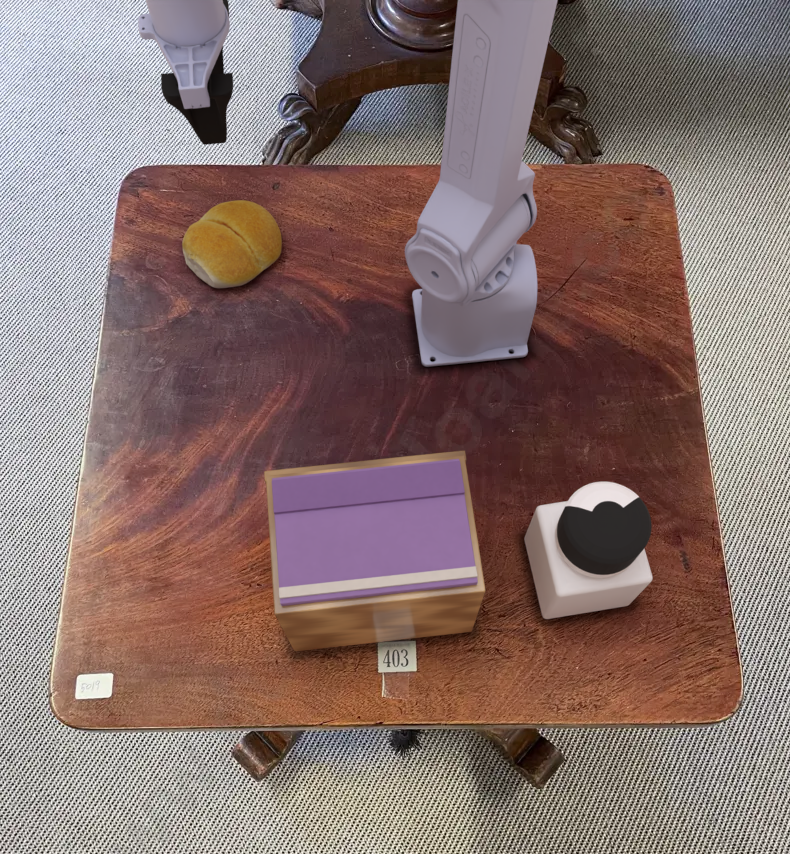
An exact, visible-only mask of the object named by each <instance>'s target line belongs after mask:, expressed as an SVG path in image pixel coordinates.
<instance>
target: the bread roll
mask: <svg viewBox="0 0 790 854" xmlns="http://www.w3.org/2000/svg"><path fill="white" fill-rule="evenodd" d="M282 245H283V240H282V234H281V230H280V227H279V225H278V223H277V221H276V219H275V217H273V215H272V214H271V213H270V212H269V211H268V210H267V209H266V208H265V207H264V206H262V205H260V204H258V203H256V202H254V201H249V200H245V199H240V200H239V199H238V200H228V201H225V202H220V203H218V204H215V206H212V207H211V208H210V209H209V210H208V211H206V213H205V214H203V216H202V217H201V218H200V219H199V220H198V221H196V222H194V223H192V224H190V225H189V227H187V230H186V231H185V233H184V235H183V238H182V242H181V247H182V253H183V258H184V261H185V264H186V266H188V268H189V269H190V270H191V272H193V273H194V274H195V275H196V277H198V278H199V279H200V280H202V281H203V282H204V283H206V284H207V285H208V286H210V287H212V288H214V289H227V288H234V287H241V286H245V285H246V284H248V283H249V282H250V281H252V280H254V279H255V278H256V277H257V276H259V275H260V274H261V273H262V272H263V271H264V270H266V269H268V268H269V267H270V266H272V264H274V263H275V262H276V261H277V260H278V259H279V258H280V257H281V253H282Z"/></svg>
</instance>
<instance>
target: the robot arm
mask: <svg viewBox="0 0 790 854" xmlns="http://www.w3.org/2000/svg"><path fill="white" fill-rule="evenodd" d="M145 3H146V6H147V10H148V13H144V14H141V15H140V16H138V19H137V21H138V23H137V24H138V25H137V29H138V30H137V31H138V32H139V35H140V38H141V39H142V40H153V41H155V42H156V44H157V45H158V48H159V49H160V51H161V52H162V53H161V54H162V55H163V56H164V58H165V60H166V62H167V64H168V66H169V68H170V70H171V71H172V72H167V73H161V74H160V83H161V84H160V85H161V86H160V87H161V88H160V89H161V92H162V95H163V98H164V100H165V101H166V103H168V105H170V106H171V107H173V108H175V109H176V111H179V113H180V114H181V115H182V116H183V117H184V118H185V119H186V120H187V122H188V124H189V125H190V127H191V128H192V129H193V132H194V133H195V135H196V136H197V138H198V139H199V141H200V142H201V143H202V145H204V146H206V145H217V144H218V145H219V144H225V143H226V142H227V137H228V125H227V124H228V123H227V112H228V106H229V103H230V101H231V99H232V97H233V91H234V75H233V72H225V65H224V44H225V42H226V40H227V37H228V35H229V32H230V27H231V22H230V4H229V0H145ZM456 4H457V5H456V13H455V15H456V16H455V25H454V34H453V45H452V54H451V55H452V56H451V63H450V73H449V83H448V93H447V103H446V111H445V112H446V113H445V120H444V121H445V122H444V133H443V140H442V141H443V144H442V152H441V161H440V171H439V179H438V181H437V184H436V186H435V187H434V190H433V191H432V193H431V195H430V197H429V199H428V200H427V202H426V205H425V206H424V208H423V210H422V211H421V213H420V215H419V217H418V220H417V224H416V232H415V233H414V235H413V236H412V237H411V238H410V239H408V240H407V242H406V244H405V246H404V257H405V261H406V265H407V267H408V268H407V269H408V271H409V272H410V274H411V276H412V278H413V279H414V280H415V282H416V283H417V284H418V285H419V286H420V287H421V288H417V289H414V290H413V291H412V292H411V293H412V294H411V299H412V306H413V312H414V321H415V327H416V333H417V341H418V347H419V348H418V349H419V354H420V355H419V356H420V363H421V365H422V366H423V367H425V368H429V367H438V366H449V365H458V364H468V363H469V364H470V363H479V362H487V361H489V362H490V361H499V360H509V359H520V358H524V357H526V356H528V352H529V349H528V340H529V337H530V332H531V330H532V329H531V328H532V325H533V321H534V316H535V313H536V309H537V303H538V271H537V265H536V260H535V255H534V251H533V248H532V247H531V245H530V244H522V243H518V241H519V239H520V238H522V236H523V235H524V234H525V233H527V232H528V231H530V229H532V227H533V226H534V224H536V220H537V217H538V209H537V202H536V199H535V196H534V181H535V177H536V173H535V171H534V170H533V169H532V168H530V167H529V166H528V164H527V163H526V162H524V160H523V157H524V151H525V148H526V143H527V139H528V135H529V129H530V125H531V121H532V116H533V112H534V107H535V103H536V99H537V94H538V89H539V85H540V81H541V76H542V71H543V67H544V63H545V58H546V54H547V49H548V44H549V40H550V35H551V32H552V28H553V27H552V26H553V23H554V18H555V14H556V10H557V4H558V0H457V3H456ZM510 352H512V353H510ZM431 360H434V361H431Z"/></svg>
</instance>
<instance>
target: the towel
mask: <svg viewBox="0 0 790 854" xmlns="http://www.w3.org/2000/svg"><path fill="white" fill-rule="evenodd" d="M272 493H273V509H274V515H275V531H276V546H277V561H278V577H279V598H280V604H281V606H287V605H296V604H305V603H314V602H323V601H333V600H342V599H351V598H360V597H369V596H378V595H387V594H397V593H406V592H415V591H424V590H433V589H442V588H451V587H460V586H470V585H477V583H478V579H477V570H476V566H475V560H474V553H473V547H472V540H471V534H470V527H469V521H468V514H467V508H466V501H465V490H464V484H463V477H462V471H461V464H460V461H459V459H452V460H443V461H433V462H423V463H414V464H404V465H395V466H385V467H375V468H366V469H356V470H347V471H337V472H327V473H318V474H308V475H299V476H289V477H279V478H272Z"/></svg>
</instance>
